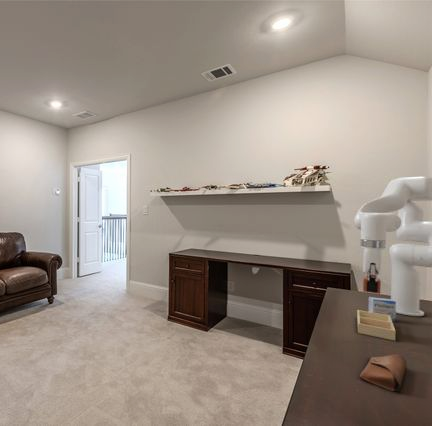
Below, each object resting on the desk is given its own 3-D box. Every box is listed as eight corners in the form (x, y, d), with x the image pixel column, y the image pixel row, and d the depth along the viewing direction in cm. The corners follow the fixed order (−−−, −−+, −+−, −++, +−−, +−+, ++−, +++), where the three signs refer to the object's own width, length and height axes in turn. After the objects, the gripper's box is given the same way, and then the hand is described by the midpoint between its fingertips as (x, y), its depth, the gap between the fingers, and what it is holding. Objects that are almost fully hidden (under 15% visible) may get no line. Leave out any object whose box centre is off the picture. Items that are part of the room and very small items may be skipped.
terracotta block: (363, 288, 122) (363, 276, 122) (379, 291, 118) (379, 278, 118) (363, 291, 118) (363, 278, 118) (380, 293, 115) (380, 280, 114)
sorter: (357, 318, 130) (357, 309, 130) (389, 324, 123) (390, 315, 123) (357, 332, 114) (358, 323, 114) (395, 340, 107) (395, 330, 107)
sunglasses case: (368, 356, 95) (383, 341, 92) (394, 375, 90) (411, 361, 88) (358, 377, 83) (375, 361, 80) (387, 400, 78) (406, 385, 76)
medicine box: (372, 319, 129) (372, 299, 128) (367, 315, 133) (368, 296, 133) (395, 321, 126) (396, 301, 125) (390, 318, 130) (391, 298, 130)
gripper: (360, 242, 127) (359, 284, 127) (360, 245, 114) (359, 293, 114) (384, 243, 122) (382, 287, 122) (387, 247, 109) (386, 297, 109)
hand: (371, 289), depth 118 cm, fingers closed on terracotta block, 5 cm apart
